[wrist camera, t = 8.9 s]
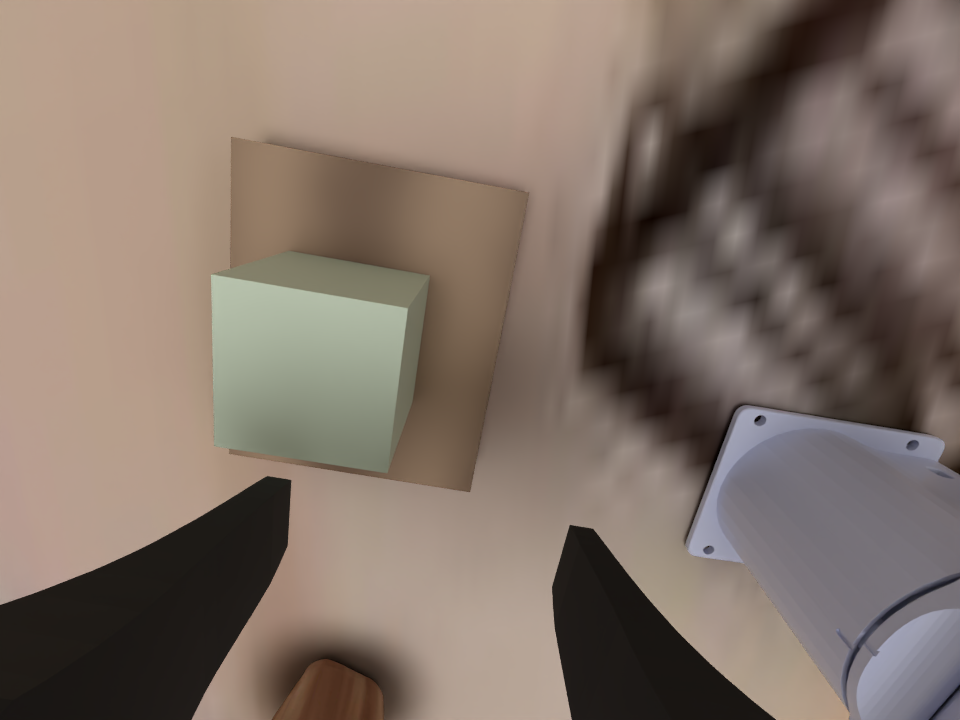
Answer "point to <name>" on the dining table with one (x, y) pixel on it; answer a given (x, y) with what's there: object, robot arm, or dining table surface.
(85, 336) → the dining table surface
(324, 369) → the sage cube
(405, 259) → the walnut block
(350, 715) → the cupcake
